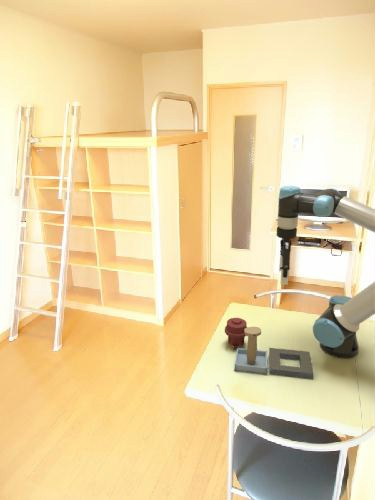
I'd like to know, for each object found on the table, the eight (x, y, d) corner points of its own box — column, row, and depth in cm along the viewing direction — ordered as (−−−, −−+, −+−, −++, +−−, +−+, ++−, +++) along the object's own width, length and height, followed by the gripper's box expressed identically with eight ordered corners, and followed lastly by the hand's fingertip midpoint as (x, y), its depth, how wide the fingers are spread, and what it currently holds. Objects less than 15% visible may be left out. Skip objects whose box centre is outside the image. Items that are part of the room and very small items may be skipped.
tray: (266, 357, 145) (267, 351, 144) (266, 374, 135) (267, 368, 134) (236, 354, 148) (237, 347, 147) (234, 371, 137) (234, 364, 136)
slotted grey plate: (308, 356, 145) (309, 351, 144) (312, 379, 132) (313, 373, 131) (268, 352, 148) (269, 347, 147) (269, 374, 135) (269, 368, 135)
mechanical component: (248, 339, 158) (247, 353, 148) (225, 337, 160) (223, 350, 150) (249, 315, 154) (248, 327, 144) (226, 313, 156) (223, 325, 146)
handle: (261, 365, 139) (262, 332, 134) (245, 367, 138) (246, 334, 133) (257, 357, 144) (258, 325, 138) (241, 359, 143) (242, 327, 138)
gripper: (276, 218, 149) (273, 265, 156) (278, 235, 126) (274, 289, 133) (294, 219, 148) (290, 266, 154) (300, 236, 124) (295, 291, 131)
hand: (283, 277), depth 144 cm, fingers open, 13 cm apart
